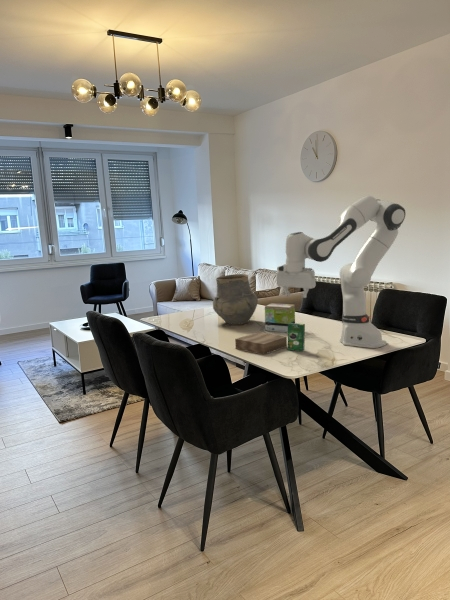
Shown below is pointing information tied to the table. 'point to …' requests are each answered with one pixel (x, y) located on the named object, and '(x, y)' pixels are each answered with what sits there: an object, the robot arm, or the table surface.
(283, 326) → the tea box
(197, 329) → the table surface
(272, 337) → the block
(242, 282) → the ceramic pot
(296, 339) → the coffee box
